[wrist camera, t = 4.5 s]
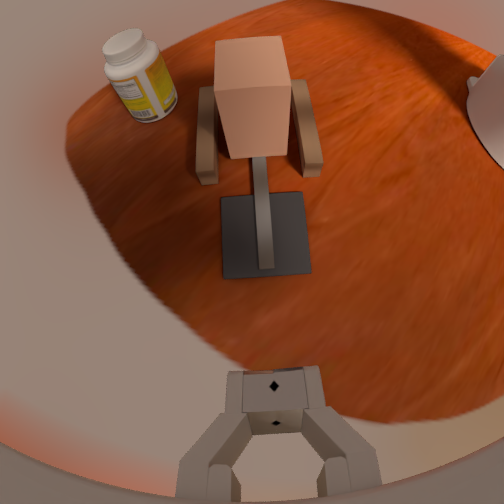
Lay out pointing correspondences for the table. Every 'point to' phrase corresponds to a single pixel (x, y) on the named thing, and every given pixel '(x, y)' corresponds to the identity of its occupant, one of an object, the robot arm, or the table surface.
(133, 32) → the supplement bottle
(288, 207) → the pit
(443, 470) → the robot arm
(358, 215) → the table surface
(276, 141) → the block
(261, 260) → the track
